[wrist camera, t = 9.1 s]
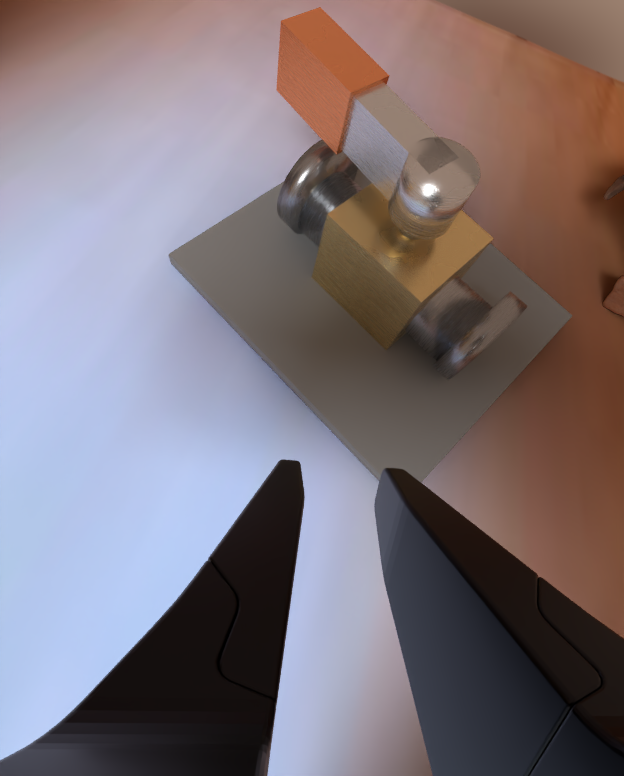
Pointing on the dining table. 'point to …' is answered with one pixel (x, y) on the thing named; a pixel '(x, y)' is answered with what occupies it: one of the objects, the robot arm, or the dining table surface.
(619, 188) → the pottery mug
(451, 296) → the valve body
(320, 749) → the dining table surface
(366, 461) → the rubber mat
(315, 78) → the valve lever
